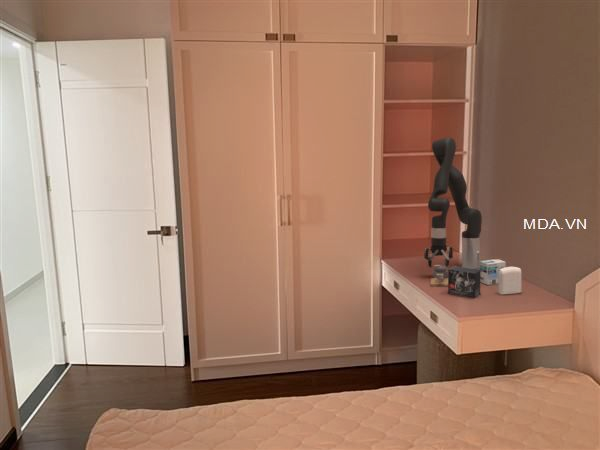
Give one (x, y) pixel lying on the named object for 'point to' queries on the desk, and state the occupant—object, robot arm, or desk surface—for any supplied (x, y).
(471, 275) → the small box
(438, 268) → the knob
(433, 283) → the shaft base
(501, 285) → the photo printer
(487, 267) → the light bulb box
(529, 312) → the desk surface
